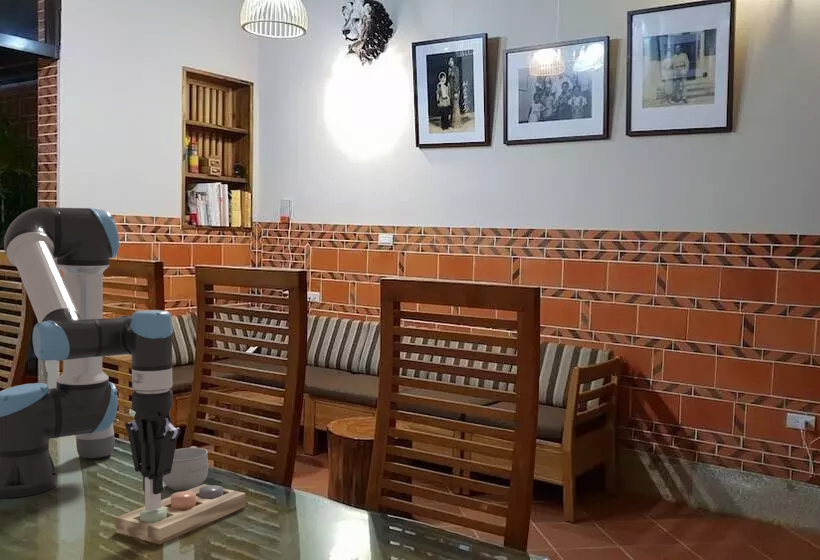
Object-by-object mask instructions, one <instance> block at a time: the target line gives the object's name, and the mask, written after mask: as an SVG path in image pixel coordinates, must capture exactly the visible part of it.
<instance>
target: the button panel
mask: <svg viewBox="0 0 820 560" xmlns="http://www.w3.org/2000/svg"><path fill="white" fill-rule="evenodd" d="M210 485H211V484H210ZM210 485H209V484H205V483H204V484H203V483H202V484H201V485H200V486H198V487H195V488H192V489H189V490H186V491H192V492H195V493H196V506H195V507H192V508H190V509H188V510H185V511H181V510H177V509H173V508H171V496H169V497H166V498H163V499H161V507H162V508H165V509H167V518H165V519H163V520H160V521H158V522H156V523H153V524H152V523H148V522H144V521H140V512H141V511H142V510H144V509H145V506H142V507H140V508H137V509H134V510H132V511H130V512H126V513H123V514H121V515H119V516H115V533H117V534H120V535H123V534H124V536H127V535H128V537H131V536H132V537H131V538H134V537H136V538H135V539H138V538H139V539H138V540H142V541H145V540H146V542H150V543H153V544H157V545H162V544H164V543H167V542H169V541H171V540H173V539H175V538H178V537H180V536H182V535H184V534H187V533H189V532H191V531H194V530H196V529H198V528H201V527H202V526H205V525H208V524H210V523H212V522H214V521H216V520H219V519H221V518H224V517H225V516H227V515H230V514H232V513H234V512H237V511H239V510H241V509H244V508H246V492H242V491H237V490H233V489H229V488H228V489H227V488H224V487H223V495H222V496H220V497H217V498H215V499H212V500H211V499H207V498H202V497H199V489H200V488H202V487H205V486H210Z"/></svg>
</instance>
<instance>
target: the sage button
mask: <svg viewBox="0 0 820 560" xmlns="http://www.w3.org/2000/svg"><path fill="white" fill-rule="evenodd" d="M165 518H167V509H165V508H162V507H161V508H159V509H156V510H153V511H151V512H150V511H146V510H145V509H144V510H142V511H141V512H140V521H144V522H148V523H152V524H153V523H156V522H158V521H160V520H163V519H165Z"/></svg>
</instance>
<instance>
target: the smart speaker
mask: <svg viewBox="0 0 820 560" xmlns="http://www.w3.org/2000/svg"><path fill="white" fill-rule="evenodd" d="M75 442H76V451H77V452H76V453H77V455H78V456H79V457H80V458H82V460H83V459H84V460H88V461H89V460H101V459H105V458H107V457H109V456H111V455H112V453H113V452H114V448H115V445H116V444H115V431H114V423H112V424H111V426H110V427H109V428H108V429H106V430H103V431H98V432H94V433H91V434H88V433H86V434H79V435H76V441H75Z"/></svg>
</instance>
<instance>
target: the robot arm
mask: <svg viewBox="0 0 820 560" xmlns="http://www.w3.org/2000/svg"><path fill="white" fill-rule="evenodd" d="M113 217H114V216H113V215H112V214H111V213H110V212H108V211H107V210H105V209H99V208H91V207H86V208H85V207H49V206H38V207H34V208H31V209H28V210H25V211H24V212H22V213H21V214H19V215H18V216H17V217H16V218H15V219H14V220H13V221H12V222H11V223H10V224H9V226H8V228H7V230H6V232H5V234H4V239H3V247H4V252H5V254H6V258H7V259H8V261H9V263H10V264H11V265H12V266H14V267H16V268H17V271H18V274H19V276H20V279H21V282H22V284H23V287H24V289H25V291H26V294H27V297H28V299H29V301H30V304H31V306H32V310H33V313H34V314H35V317H36V319H37V322H38V323H36V324H35V325H34V327H33V329H32V330H33V331H32V345H33V352H34V354H35V356H36V358H37V359H38V360H40V361H43V362H44V361H63V364H62V365H63V372H62V373H61V374H60V375H59V376H58V377H56V382H55V383H56V384H55V385H56V387H54V388H53V387H52V388H49V386H48V384H47V383H44V382H35V383H24V384H20V385H15V386H11V387H7V388H5V389H3V390H0V498H2V499H3V498H5V499H8V498H11V499H12V498H21V497H22V498H23V497H28V496H33V495H38V494H41V493H45V492H47V491H49V490H52V489H54V488H55V487H56V486H57V485H58V472H57V470H56V466H55V465H54V461H53V458H52V456H51V454H50V446H49V444H50V443H49V442H50V440H52V439H58V438H63V437H64V438H65V437H70V436H77V435H79V434H86V433H88V434H91V433H94V432H98V431H103V430H106V429H108V428H109V427H110V426H111V424H112V423H113V422H115V419H116V416H117V412H118V407H119V406H118V405H119V398H118V397H119V396H118V395H117V394H118V389H117V387H116V385H115V384H114V383H113V382H111V381H109V380H110V379H109V378H110V377H109V375H108V374H106V373H105V372H104V371H103V357H109V356H110V357H111V356H120V355H121V356H122V355H131V388H132V390H134V391H133V392H132V393H131V409H132V411H133V412H135V414H134V416H133V420H131V421H128V422H125V424H124V427H125V429H126V432H127V435H128V438H129V443H130V444H129V445H130V449H131V455H132V462H133V467H134V471H135V472H139V473H140V475H141V476H142V484H143V485H142V486H143V487H142V488H143V489H142V490H143V492H144V507H145V510H146V511H150V512H151V511H153V510H156V509H159V508H161V500H162V493H163V486H164V482H163V476H164V475H167V474H170V473H171V470H172V464H173V458H174V453H175V450H176V448H177V447H176V446H177V442H178V441H177V440H178V438H179V436H180V435H181V432H182V430H181V428H180V427H175V426H174V425H173V424H172V419H171V416H170V411H171V410H172V408H173V404H174V403H173V391H172V388H173V385H174V384H173V333H174V328H173V319H172V314H171V313H170V311H167V310H163V309H162V310H160V309H149V310H148V309H145V310H136V311H134V312H133V313H132V314H130V315H120V316H118V317H108V318H103V308H104V307H103V301H104V300H103V297H104V295H103V292H104V291H103V289H104V288H103V284H104V282H103V281H104V279H103V278H104V277H103V276H104V274H103V273H104V272H105V271H106V270H107V269H108V268H109V267H110V263H111V261H110V259H113V258H115V257H117V255H118V253H119V248H120V247H119V246H120V238H119V236H120V235H119V231H118V227H117V224H116V221H115V219H114V218H113ZM61 271H62V272H63V273H62V272H61ZM62 274H63V275H62ZM113 424H114V423H113Z"/></svg>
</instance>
